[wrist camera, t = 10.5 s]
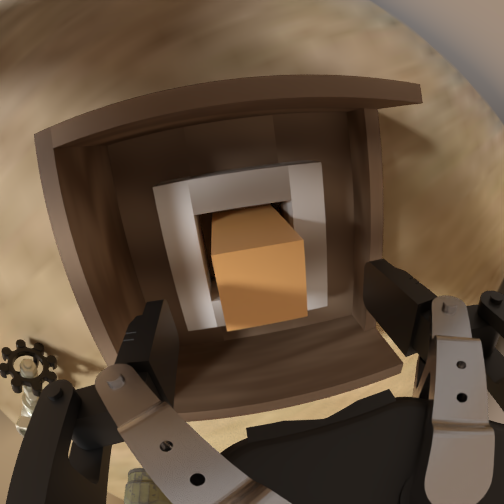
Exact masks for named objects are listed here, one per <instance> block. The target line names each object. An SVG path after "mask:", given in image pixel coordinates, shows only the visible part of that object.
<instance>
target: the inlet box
mask: <svg viewBox="0 0 504 504" xmlns="http://www.w3.org/2000/svg"><path fill="white" fill-rule="evenodd" d="M421 103H423V102H422V95H421V88H420V84H415V83H409V82H403V81H396V80H388V79H379V78H370V77H358V76H342V75H276V76H260V77H248V78H238V79H229V80H221V81H214V82H207V83H201V84H195V85H189V86H184V87H178V88H173V89H169V90H164V91H160V92H155V93H151V94H147V95H143V96H139V97H135V98H132V99H128V100H124V101H121V102H118V103H114V104H111V105H108V106H105V107H102V108H99V109H96V110H93V111H90V112H87V113H84V114H81V115H79V116H76V117H73V118H71V119H68V120H66V121H63V122H61V123H58V124H56V125H54V126H51V127H49V128H47V129H44V130H42V131H40V132H38V133H36V134H34V138H35V146H36V154H37V160H38V167H39V173H40V178H41V183H42V188H43V193H44V198H45V202H46V207H47V211H48V215H49V219H50V223H51V226H52V230H53V234H54V237H55V241H56V244H57V247H58V250H59V254H60V257H61V260H62V263H63V266H64V269H65V271H66V274H67V277H68V280H69V282H70V285H71V288H72V290H73V293H74V295H75V298H76V300H77V303H78V305H79V308H80V310H81V312H82V315H83V317H84V319H85V322H86V324H87V326H88V328H89V330H90V332H91V335H92V337H93V339H94V341H95V343H96V345H97V347H98V349H99V351H100V353H101V355H102V357H103V359H104V361H105V362H106V364H107V366H108V367H109V366H111V365H114V363H115V361H116V358H117V355H118V352H119V349H120V347H121V344H122V342H123V338H124V336H125V334H126V331H127V328H128V325H129V323H130V322H131V321H132V320H133V319H134V318H135V317H136V316H139V315H142V314H143V311H144V308H145V305H146V303H147V302H149V301H156V300H162V299H166V300H167V302H168V305H169V308H170V311H171V314H172V317H173V320H174V323H175V326H176V329H177V332H178V336H179V355H178V364H177V373H176V384H175V395H174V407H173V409H174V410H175V411H176V412H177V413H178V414H179V415H180V416H181V417H182V419H183V420H184V421H185V422H190V421H202V420H212V419H220V418H228V417H236V416H242V415H249V414H255V413H261V412H266V411H272V410H277V409H282V408H286V407H291V406H295V405H300V404H304V403H308V402H312V401H316V400H320V399H324V398H327V397H331V396H334V395H338V394H341V393H345V392H348V391H351V390H354V389H357V388H360V387H364V386H367V385H369V384H372V383H375V382H378V381H381V380H384V379H386V378H389V377H392V376H394V375H397V374H399V373H401V370H402V366H403V362H402V361H401V360H400V358H399V357H398V356H397V354H396V353H395V352H394V351H393V349H392V348H391V347H390V345H389V344H388V343H387V342H386V340H385V339H384V338H383V337H382V335H381V334H380V333H379V332H378V330H377V329H376V320H375V319H374V317H373V316H372V315H371V314H370V313H369V312H368V310H367V309H366V307H365V305H364V301H363V283H364V266H365V264H366V262H370V261H374V260H379V259H382V250H383V170H382V152H381V139H380V128H379V119H378V110H377V109H381V108H388V107H395V106H403V105H411V104H421ZM274 202H280V210H281V216H282V217H283V218H284V219H285V220H286V221H287V223H288V224H289V225H290V226H291V227H292V228H293V229H294V230H295V231H296V232H297V233H298V234H299V235H300V236H301V237H302V239H303V240H304V252H305V269H306V288H307V311H308V316H306V317H302V318H297V319H292V320H287V321H282V322H277V323H272V324H267V325H262V326H256V327H251V328H245V329H239V330H233V331H227V328H226V324H225V319H224V315H223V310H222V306H221V301H220V296H219V291H218V287H217V282H216V277H212V278H211V273H210V268H209V263H208V258H207V253H206V248H205V243H204V237H203V232H202V227H201V221H200V216H199V214H204V213H210V212H216V211H222V210H228V209H234V208H240V207H247V206H253V205H260V204H267V203H274Z"/></svg>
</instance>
